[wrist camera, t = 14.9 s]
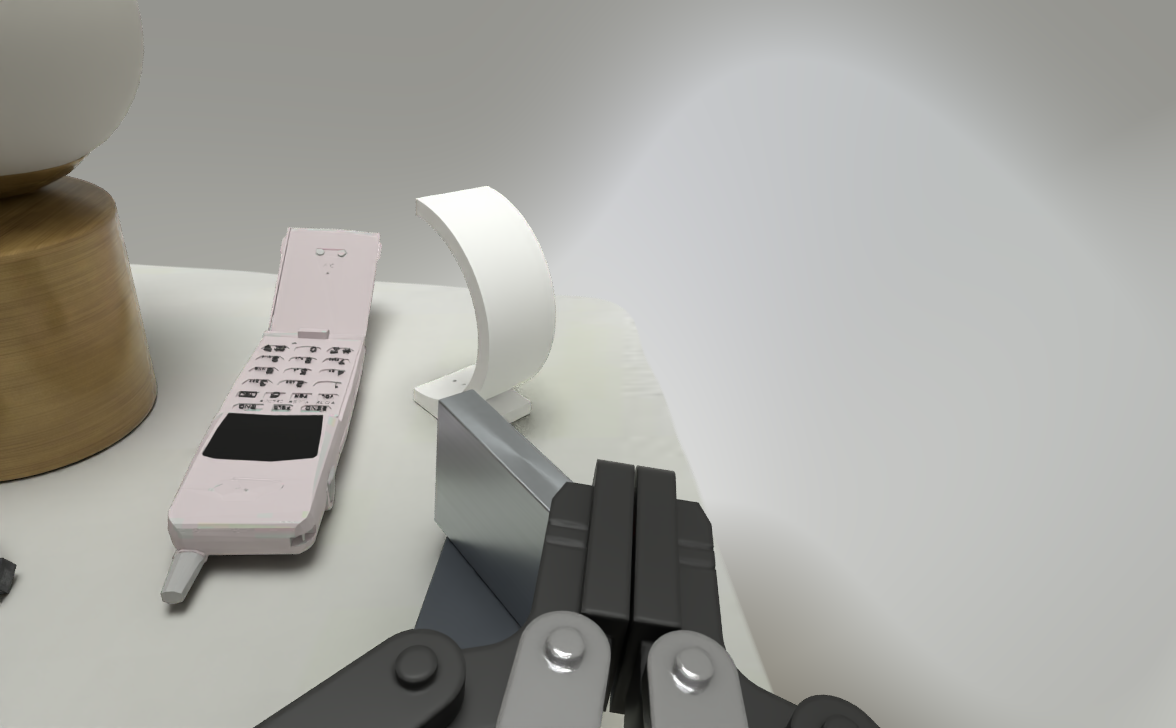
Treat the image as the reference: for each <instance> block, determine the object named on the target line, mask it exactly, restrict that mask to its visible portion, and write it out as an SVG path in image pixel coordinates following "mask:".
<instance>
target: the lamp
mask: <svg viewBox="0 0 1176 728" xmlns="http://www.w3.org/2000/svg"><path fill="white" fill-rule="evenodd" d="M143 52H144V49H143V30H142V22H141V16H140V12H139V8H138V3H137V0H0V481H7V480H12V479H18V478H23V477H27V476H32V475H36V474H40V473H44V472H47V471H51V470H54V469H57V468H60V467H63V466H66V465H69V464H72V463H74V462H77V461H79V460H82V459H84V458H86V457H89V456H91V455H93V454H95V453H97V452H99V451H101V450H103V449H105V448H107V447H108V446H110V445H112V444H114V443H115V442H117V441H118V440H120V439H121V438H123V437H124V436H126V435H127V434H128V433H130V432H131V431H132V430H133V429H134V428H136V427H137V426H138V425H139V424H140V423H141V422H142V421H143V420H144V419H145V417H146V416H147V415H148V413H149V412H150V410H151V408H152V407H153V405H154V402H155V399H156V395H157V383H156V378H155V374H154V369H153V365H152V361H151V356H150V352H149V348H148V343H147V339H146V334H145V330H144V326H143V321H142V317H141V312H140V308H139V304H138V299H137V295H136V291H135V286H134V282H133V277H132V273H131V269H130V264H129V260H128V255H127V251H126V247H125V242H124V238H123V234H122V229H121V225H120V220H119V216H118V212H117V208H116V203H115V201H114V199H113V198H112V196H111V195H110V194H109V193H108V192H107V191H105V190H104V189H103V188H101V187H99V186H97V185H95V184H92V183H90V182H87V181H84V180H81V179H78V178H74V177H70V176H66V175H67V174H68V173H70V172H71V171H72V170H73V169H74V168H76V166H78V165H79V164H80V163H81V162H82V161H83V160H84V159H85V158H86V157H87V156H88V155H89V153H90V152H91V151H92V150H94V149H95V148H97V147H98V146H100V145H101V144H102V143H104V142H105V141H106V140H107V139H108V138H109V137H110V136H111V135H112V134H113V132H114V131H115V130H116V129H117V128H118V127H119V125H120V124H121V122H122V120H123V119H124V118H125V116H126V114H127V113H128V110H129V108H130V106H131V104H132V102H133V100H134V98H135V95H136V92H137V89H138V86H139V83H140V77H141V73H142V66H143V54H144V53H143Z"/></svg>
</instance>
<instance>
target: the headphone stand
mask: <svg viewBox="0 0 1176 728" xmlns="http://www.w3.org/2000/svg"><path fill="white" fill-rule="evenodd" d="M416 215H417V216H418V217H420V218H421V219H423V220H424V221H425V222H427V223H428V224H429V225H430V226H431V227H432V228H433V229H434V230H435V231H436V232H437V233H438V234H439V236H440V237H441V238H442V239H443V241H444V242H445V243H446V245H447V246H448V247H449V249H450V251H451V252H452V254H453V256H454V257H455V259H456V261H457V262H458V265H459V267H460V269H461V271H462V273H463V275H464V278H465V280H466V283H467V285H468V288H469V291H470V294H471V297H472V301H473V305H474V309H475V315H476V320H477V329H478V356H477V362H476V364H473V365H471V366H468V367H466V368H463V369H461V370H458V371H456V372H453V373H451V374H448V375H446V376H443V377H441V378H438V379H436V380H433V381H431V382H428V383H426V384H423V385H421V386H418V387H416V388H414V401H415V402H417V403H418V404H419V405H420V406H422V407H423V408H424V409H426V410H427V411H428V412H429V413H431V414H432V415H433V416H434V417H436V418H437V419H438V401H439V400H440V399H442V398H445V397H449V396H452V395H455V394H458V393H461V392H464V391H468V390H471V389H473V390H475V391H476V392H477V393H478V394H479V395H480V396H481V397H482V398H483V399H484V400H485V401H486V402H487V403H489V404H490V405H491V406H492V407H493V408H494V409H495V410H496V411H497V412H498V413H499V414H500V415H501V416H503V417H504V418H505V419H506V420H507V421H508V422H509V423H512V422H514V421H516V420H518V419H520V418H522V417H524V416H526V415H528V414H530V410H531V401H530V400H528V399H527V398H525V397H524V396H522V395H521V394H520V393H518V392H517V391H515V390H514V389H512V388H514V387H516V386H518V385H520V384H522V383H525V382H527V381H528V380H530V379H531V378H533V377H534V376H535V375H536V374H537V373H538V372H539V371H540V369H541V368H542V367H543V365H544V363H545V361H546V360H547V358H548V355H549V353H550V350H551V346H552V343H553V338H554V333H555V323H556V307H555V296H554V289H553V284H552V279H551V275H550V271H549V268H548V265H547V262H546V259H545V257H544V254H543V251H542V249H541V247H540V245H539V242H538V240H537V238H536V236H535V235H534V233H533V231H532V229H531V228H530V226H529V225H528V223H527V222H526V220H525V219H524V217H523V216H522V215H521V214H520V212H519V211H518V210H517V209H516V208H515V207H514V206H513V205H512V203H511V202H510V201H508V200H507V199H506V198H505V197H504V196H503V195H501V194H500V193H498V192H497V191H496V190H494V189H492V188H490V187H489V186H485V187H479V188H474V189H467V190H462V191H457V192H450V193H444V194H439V195H433V196H427V197H422V198H416Z"/></svg>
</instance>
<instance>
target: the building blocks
mask: <svg viewBox="0 0 1176 728" xmlns="http://www.w3.org/2000/svg"><path fill="white" fill-rule="evenodd" d="M15 569H16V564H14V563H12V562H10V561H8V560H6V559H4V558H0V594H5V593H9V590H10V587H11V583H12V580H13V576H14V572H15Z"/></svg>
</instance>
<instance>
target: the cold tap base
mask: <svg viewBox="0 0 1176 728" xmlns="http://www.w3.org/2000/svg"><path fill="white" fill-rule="evenodd" d="M420 628H421V629H431V630H436V631H439V632H441V633H444V634H446V635H447V636H449V637H450V638H452V639H453V640H454V641H455V642H456V643H457V644H458V646H459V647H460V648H461V649H465V648H472V647H479V646H485V645H490V644H495V643H497V642H500V641H503V640H505V639H507V638H508V637H510V636H512V635H513V634H514V633H516V632H517V631H518V630H519V629H520V628H521V626H520V624H519V623H518V622H517V621H516V620H515V618H514V617H513V616H512V615H511V613H510V612H509V611H508V610H507V609H506V607H505V606H504V605H503V604H502V602H501V601H500V600H499V599H498V598H497V596H496V595H495V594H494V593H493V591H492V590H491V589H490V588H489V587H488V585H487V584H486V583H485V582H484V580H483V579H482V578H481V577H480V576H479V574H478V573H477V572H476V571H475V570H474V568H473V567H472V566H471V565H470V563H469V562H468V561H467V560H466V559H465V557H464V556H463V555H462V554H461V552H460V551H459V550H458V549H457V548H456V546H455V545H454V544H453V543H452V541H451V540H450V539H449V538H448V537H446V540H445V543H444V546H443V548H442V551H441V554H440V557H439V560H438V563H437V565H436V568H435V571H434V574H433V577H432V580H431V582H430V585H429V588H428V591H427V594H426V597H425V600H424V602H423V605H422V608H421V611H420V614H419V617H418V619H417V622H416V625H415V628H414V629H420Z"/></svg>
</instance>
